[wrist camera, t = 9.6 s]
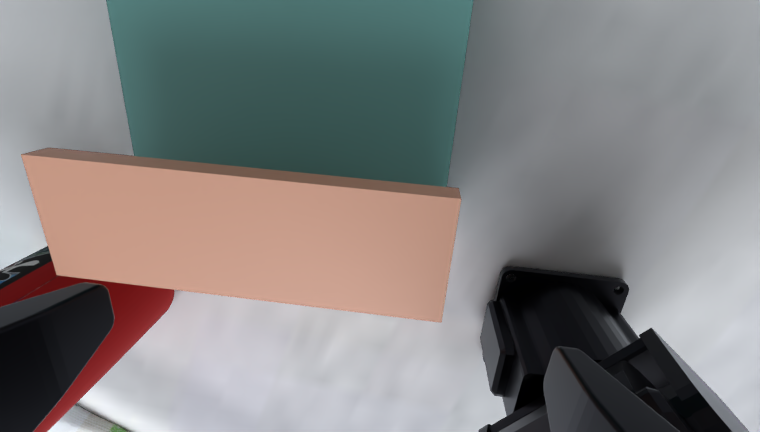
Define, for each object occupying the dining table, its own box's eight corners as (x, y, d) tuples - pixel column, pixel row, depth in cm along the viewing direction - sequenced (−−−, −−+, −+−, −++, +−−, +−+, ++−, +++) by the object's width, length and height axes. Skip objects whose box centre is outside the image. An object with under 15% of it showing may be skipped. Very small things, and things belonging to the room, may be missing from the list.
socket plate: (494, -205, 14) (571, -487, 7) (435, 226, 21) (441, 322, 13) (124, -216, 15) (-165, -473, 8) (181, 199, 22) (56, 275, 14)
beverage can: (80, 200, 22) (-254, 343, 11) (192, 245, 23) (-26, 426, 12) (72, 290, 25) (-204, 477, 14) (172, 329, 25) (-20, 541, 14)
